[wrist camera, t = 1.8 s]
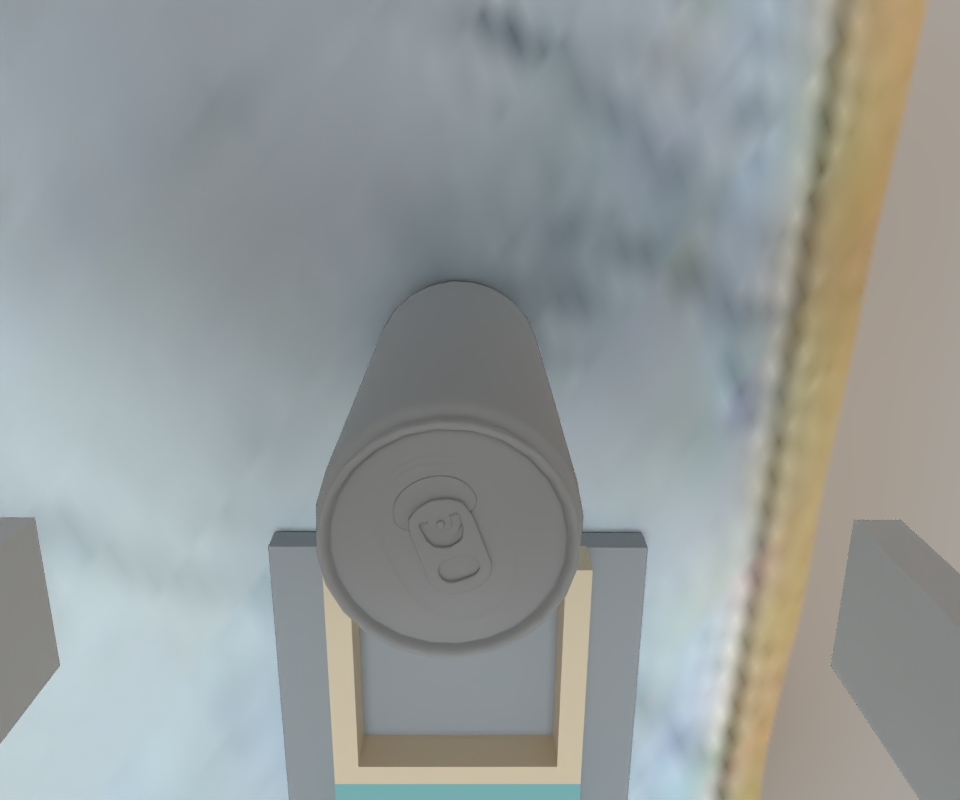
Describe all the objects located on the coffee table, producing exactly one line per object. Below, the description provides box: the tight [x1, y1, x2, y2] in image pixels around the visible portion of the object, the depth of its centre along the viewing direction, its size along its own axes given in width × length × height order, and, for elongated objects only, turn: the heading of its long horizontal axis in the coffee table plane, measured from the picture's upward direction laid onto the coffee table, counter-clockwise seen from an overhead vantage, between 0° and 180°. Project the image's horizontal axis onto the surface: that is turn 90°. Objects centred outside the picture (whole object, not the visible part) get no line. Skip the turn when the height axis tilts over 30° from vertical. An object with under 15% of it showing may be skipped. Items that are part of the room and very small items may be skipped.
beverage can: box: [316, 281, 583, 658], centre depth 20 cm, size 5×5×12 cm
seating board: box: [268, 532, 648, 800], centre depth 29 cm, size 16×12×2 cm
